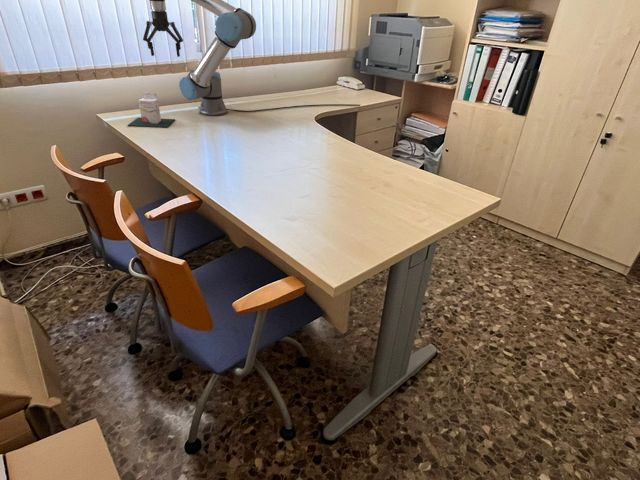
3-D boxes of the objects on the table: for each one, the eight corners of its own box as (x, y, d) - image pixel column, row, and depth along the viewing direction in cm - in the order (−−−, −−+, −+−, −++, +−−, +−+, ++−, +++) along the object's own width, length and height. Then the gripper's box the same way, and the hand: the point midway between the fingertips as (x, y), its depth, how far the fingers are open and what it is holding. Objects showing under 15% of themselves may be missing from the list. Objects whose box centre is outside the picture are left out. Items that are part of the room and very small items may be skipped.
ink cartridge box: (142, 122, 208) (136, 93, 200) (146, 120, 212) (140, 91, 205) (157, 123, 208) (152, 95, 200) (161, 121, 212) (156, 92, 204)
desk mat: (175, 120, 217) (174, 119, 216) (167, 127, 205) (166, 126, 205) (138, 118, 216) (138, 117, 216) (128, 126, 204) (127, 125, 204)
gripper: (185, 11, 206) (190, 55, 217) (136, 9, 204) (144, 54, 215) (181, 12, 199) (187, 57, 211) (131, 10, 198) (139, 56, 209)
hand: (165, 56), depth 213 cm, fingers open, 13 cm apart
